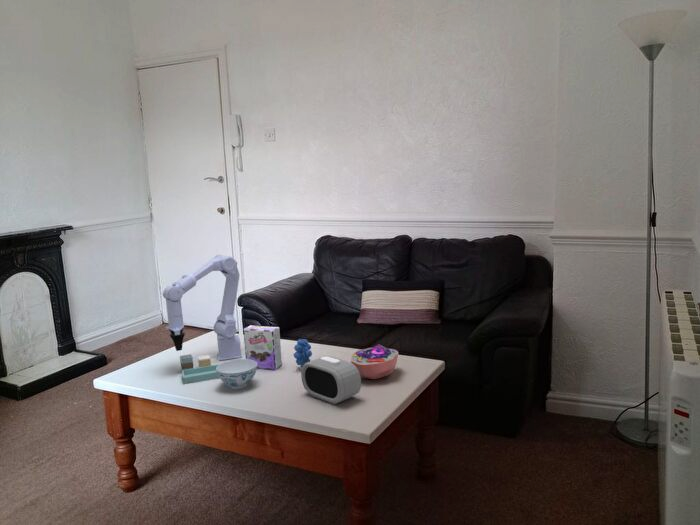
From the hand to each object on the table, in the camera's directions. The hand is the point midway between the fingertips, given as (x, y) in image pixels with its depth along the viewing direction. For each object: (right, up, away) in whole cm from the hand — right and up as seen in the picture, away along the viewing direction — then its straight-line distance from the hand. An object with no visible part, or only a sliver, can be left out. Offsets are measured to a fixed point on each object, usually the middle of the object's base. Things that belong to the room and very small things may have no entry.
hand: (178, 347), depth 233 cm
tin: (+4, -9, 0) cm, 10 cm away
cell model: (+79, -8, -17) cm, 81 cm away
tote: (+12, -10, -8) cm, 18 cm away
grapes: (+52, -8, -3) cm, 53 cm away
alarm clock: (+63, -12, -34) cm, 73 cm away
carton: (+10, -9, +3) cm, 14 cm away
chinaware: (+28, -12, -19) cm, 36 cm away
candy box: (+35, -8, 0) cm, 36 cm away
